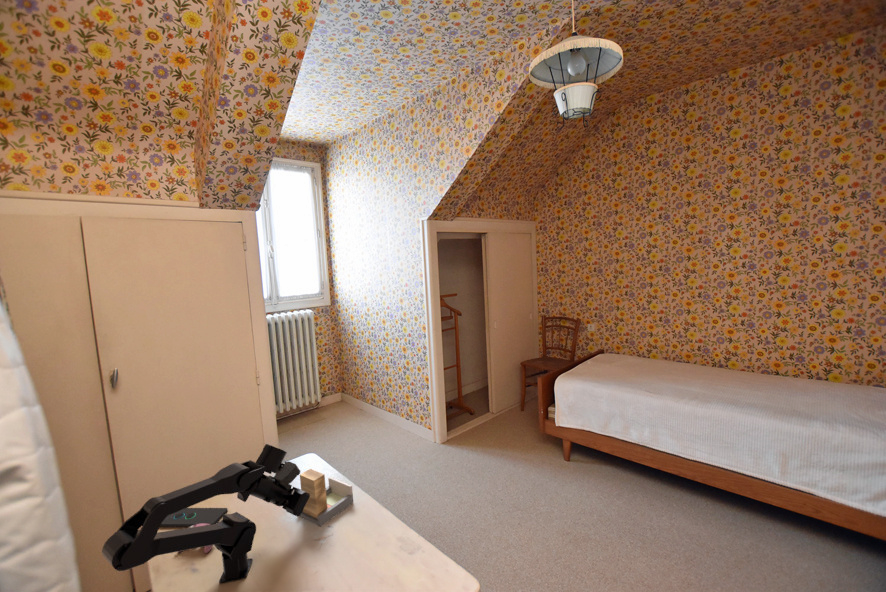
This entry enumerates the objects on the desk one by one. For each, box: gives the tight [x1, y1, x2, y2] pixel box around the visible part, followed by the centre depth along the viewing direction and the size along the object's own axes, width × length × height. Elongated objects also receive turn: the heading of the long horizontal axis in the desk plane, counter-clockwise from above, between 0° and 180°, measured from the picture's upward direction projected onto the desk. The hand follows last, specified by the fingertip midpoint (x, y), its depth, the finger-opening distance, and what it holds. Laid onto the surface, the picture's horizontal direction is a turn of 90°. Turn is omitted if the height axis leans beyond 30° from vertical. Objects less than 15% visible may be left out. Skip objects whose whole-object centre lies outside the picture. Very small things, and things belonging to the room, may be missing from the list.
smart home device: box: [159, 507, 229, 529], centre depth 126 cm, size 8×2×20 cm
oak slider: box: [299, 468, 327, 519], centre depth 123 cm, size 4×7×12 cm, turn 56°
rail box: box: [299, 476, 354, 528], centre depth 127 cm, size 14×11×6 cm
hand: (301, 502), depth 119 cm, fingers closed
